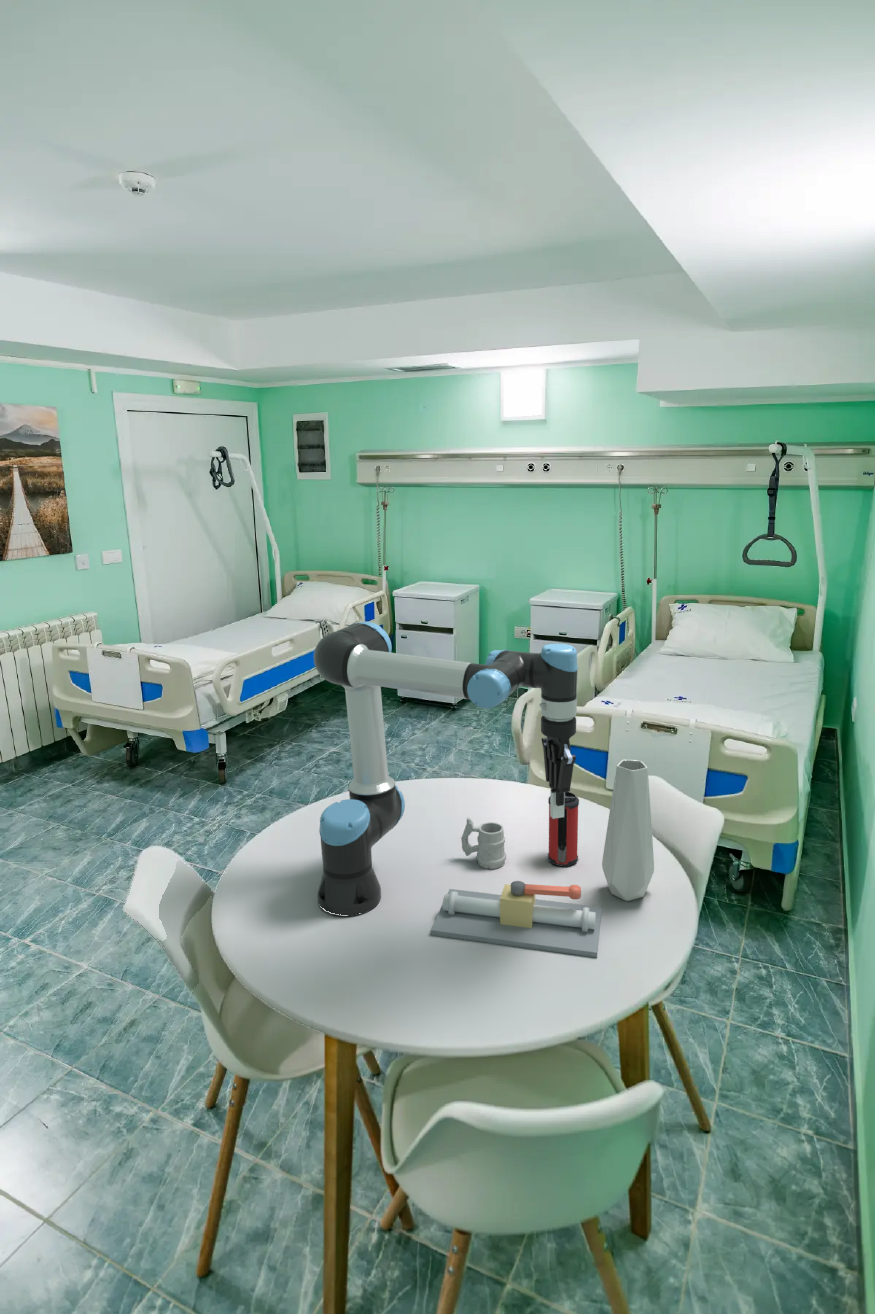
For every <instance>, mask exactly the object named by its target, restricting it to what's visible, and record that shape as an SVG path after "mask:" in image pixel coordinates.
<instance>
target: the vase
mask: <svg viewBox="0 0 875 1314" xmlns="http://www.w3.org/2000/svg"><path fill="white" fill-rule="evenodd" d="M613 781H614V782H613V788H612V795H611V801H610V808H609V814H608V820H607V821H608V822H607V825H606V826H607V827H606V832H605V841H604V848H603V854H602V860H601V861H602V862H601V867H602V871H603V874H604V877H605V880H606V883H607V887H608V889H609V892H610V893H611V895H613V896H615V897H617V898H618V899H620V900H623V901H625V902H632V901H635V900H638V899H641V898H644V897H645V895H646V892H647V890H648V888H649V885H650V883H651V880H652V878H653V875H654V873H655V859H654V845H653V844H654V843H653V842H654V841H653V827H652V814H651V813H652V811H651V801H650V800H651V797H650V796H651V795H650V794H651V793H650V782H649V770H648V766H647V765H646V764H645V763H644V762H643V761H642V760H639V759H638V760H637V759H621V761H619V763H618V764H617V765H616V769H615V774H614V780H613Z"/></svg>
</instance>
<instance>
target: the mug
mask: <svg viewBox="0 0 875 1314" xmlns="http://www.w3.org/2000/svg"><path fill="white" fill-rule="evenodd" d="M473 832H474V833H478V835H477V838H476V839H477V844H475V845H471V844H470V842H469V836H470V835H471V834H472V833H473ZM504 834H505V832H504V826H503V825H502V824H500V823H498V822H490V821H489V822H483V823H481V824H480V825H479V826H474V821H473V820H472V819H471V818H470V817H469V816H467V818H466V824H465V828H464V830H463V833H462V836H461V840H460V841H461V849H462V851H463V852H464V854H465V856H466V857H469V856H470V855H471V854H473V853H475V852H476V860H477V864H478V865H479V866H480V867H482V868H484V869H490V870H494V869H495V870H496V869H500V868H502V867H503V866H504V865H505V864H506V860H507V853H506V852H505V843H506V838H505V835H504Z"/></svg>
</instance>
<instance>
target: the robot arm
mask: <svg viewBox="0 0 875 1314" xmlns="http://www.w3.org/2000/svg"><path fill="white" fill-rule="evenodd" d="M392 648H393V647H392V641H391V639H390V636H389V635H388V632H387V631H386V630H384V629H383V627H381V626H380V625H379V624H378V623H374V622H373V621H372V622H371V621H361V622H360V621H359V622H354V623H352V624H350V625H348V626H346V627H343V628H340V629H338V630H335V631H333V632H330V633H328V634H326V635H324V636H323V637H322V638H321V639H320V640H319V641H318V642H317V645H316V646H315V648H314V652H313V664H314V668H316V670H317V673H318V674H319V676H320V677H322V678H323V679H324V680H325V681H327V682H329V683H332V684H333V685H339V686H341V687H343V688H344V692H345V702H346V703H345V704H346V712H347V724H348V732H349V743H350V752H351V765H352V773H353V780H351V782H350V783H349V784H348V794H349V795H348V796H349V799H342V800H340V801H339V802H338V801H336V802H334V803H331V804H330V805H328V806H327V807H326V808H325V809H324V810H323V811H322V812H321V815H320V818H319V831H318V832H319V835H320V846H321V859H322V871H323V873H322V876H321V880H320V884H319V886H318V890H317V903H318V902H319V904H320V906H321V907H322V908H324V909H325V910H326V911H329V912H331V913H335V914H339V915H340V914H341V915H355V916H357V915H356V914H359V913H363V914H365V912H366V913H368V912H369V911H372V910H373V909H374V908H376V907H377V906H378V905H379V904H380V902H381V898H382V887H381V884H380V882H379V880H378V879H379V878H377V875H376V873H375V870H374V867H373V861H372V860H373V859H372V858H373V856H372V849H373V846H375V845H376V844H377V843H378V842H379V841H380V840H381V839H383V837H385V836H386V834H388V833H389V832H390V831H391V830H393V829H394V827H396V826H397V825H398V824H399V822H400V820H401V819H402V817H403V815H404V812H405V809H406V808H405V807H406V803H405V798H404V795H403V793H402V791H401V790H399V787H398V786H397V785H396V781H395V779H394V778H393V777H391V776H389V769H388V766H389V765H388V756H387V745H386V734H385V724H384V714H383V713H384V712H383V699H382V689H381V688H383V687H384V688H390V689H397V690H403V691H409V692H417V693H423V694H430V695H436V696H444V697H450V698H456V699H464V700H470V701H471V702H472V703H473V704H474V705H475V706H477V707H478V708H482V709H486V710H487V709H493V708H495V707H497V706H500V705H501V704H502V703H503V702H505V701H506V700H507V699H508V697H509V696H511V695H512V694H513V693H514V692H515V691H517V690H518V689H519V688H531V689H540V692H541V693H540V697H541V698H540V699H541V703H539V707H540V710H541V711H540V713H541V717H540V732H541V734H542V735H544V737H541V743H542V744H541V745H542V749H543V750H542V752H543V759H544V762H543V763H544V771H545V772H544V773H545V781H546V783H548V785H549V788H550V792H549V793H550V796H549V797H550V816H551V817H552V818H553V819H555V818H561V817H564V798H565V792H570V791H571V786H572V779H573V772H574V765H575V762H576V760H577V757H576V755H575V754H571V751H570V750H571V743H570V742H571V741H570V739H571V738H572V737H574V736H575V735H576V733H577V717H576V716H577V713H578V712H577V710H578V709H577V707H578V696H577V693H578V671H579V667H578V653H577V648H575V647H574V646H573V645H570V644H567V643H549V644H548V643H547V644H545V645H544V646H542V647H541V652H539V653H537V652H526V651H518V650H517V651H516V650H509V649H503V650H502V649H501V650H498V649H494V650H492V651H490V652H489V653H488V656H487V657H486V660H485V664H484V663H483V664H482V663H474V662H467V661H459V660H452V659H445V658H437V657H436V658H435V657H428V656H422V655H420V656H419V655H413V654H412V655H411V654H404V653H396V652H392ZM319 904H318V905H319ZM320 906H319V907H320ZM367 911H368V912H367Z"/></svg>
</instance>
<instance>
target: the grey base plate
mask: <svg viewBox="0 0 875 1314" xmlns="http://www.w3.org/2000/svg"><path fill="white" fill-rule="evenodd" d="M602 909H603V907H602V906H598V905H597V906H595V905H588V904H587V905H586V904H581V903H580V904H579V903H571V902H563V901H562V902H561V901H554V900H546V899H537V898H536V894H524V895H522V896H515V895H513V894H511V884H504V885H503V889H502V891H501V894H497V893H496V894H495V893H487V892H481V891H480V892H479V891H469V890H462V889H455V888H449V890H448V893H445V894H444V895H443V901H442V905H441V908H440V910H439V912H438V913H437V916H436V918H435V921H434V923H433V924H432V927H431V930H430V933H431V936H437V937H445V938H450V939H451V938H452V939H456V940H457V939H459V940H466V941H467V940H468V941H473V942H474V941H475V942H481V943H487V944H495V945H504V946H510V947H511V946H512V947H515V948H516V947H517V948H525V949H531V950H539V951H545V952H546V951H548V952H555V953H560V954H569V955H575V956H583V957H591V958H598V952H599V950H598V949H599V940H600V930H601V921H602V920H601V919H602V918H601V917H602V911H603V910H602Z"/></svg>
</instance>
